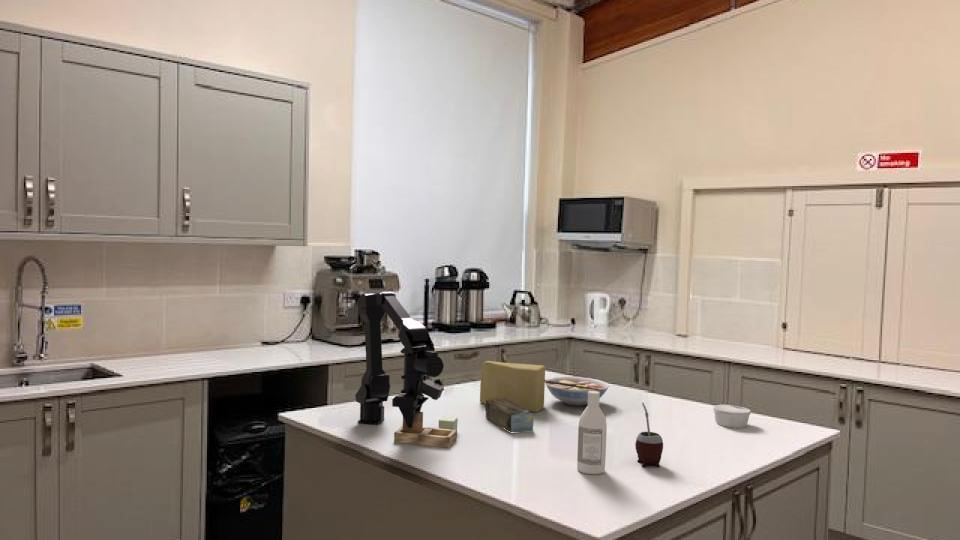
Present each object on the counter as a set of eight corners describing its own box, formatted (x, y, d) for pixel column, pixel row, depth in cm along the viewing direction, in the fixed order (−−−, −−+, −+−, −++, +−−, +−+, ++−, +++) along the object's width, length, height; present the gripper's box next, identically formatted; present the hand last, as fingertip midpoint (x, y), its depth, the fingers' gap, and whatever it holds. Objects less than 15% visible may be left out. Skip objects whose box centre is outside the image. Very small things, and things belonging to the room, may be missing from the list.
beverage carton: (510, 434, 206) (510, 412, 205) (484, 418, 223) (484, 398, 223) (533, 432, 209) (534, 410, 208) (506, 416, 226) (507, 396, 226)
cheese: (475, 405, 239) (476, 362, 238) (485, 400, 248) (486, 358, 247) (536, 413, 231) (538, 368, 230) (544, 407, 240) (546, 364, 239)
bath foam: (586, 464, 179) (589, 387, 179) (609, 470, 175) (613, 392, 174) (571, 470, 174) (574, 391, 173) (595, 477, 170) (598, 396, 169)
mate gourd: (654, 470, 176) (657, 412, 175) (626, 463, 181) (629, 406, 180) (667, 464, 181) (670, 407, 181) (640, 457, 187) (642, 402, 186)
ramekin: (755, 425, 224) (756, 409, 224) (741, 431, 216) (742, 414, 216) (721, 418, 232) (722, 402, 232) (707, 424, 224) (707, 407, 223)
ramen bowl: (621, 403, 249) (622, 380, 249) (595, 415, 230) (596, 391, 229) (558, 392, 262) (559, 371, 262) (529, 404, 243) (530, 381, 243)
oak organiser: (394, 442, 194) (394, 432, 193) (403, 434, 201) (403, 425, 201) (449, 447, 190) (449, 437, 190) (456, 439, 198) (456, 430, 198)
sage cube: (438, 435, 202) (438, 420, 202) (442, 431, 206) (443, 416, 206) (453, 436, 201) (453, 421, 201) (457, 432, 205) (457, 417, 205)
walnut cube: (402, 430, 195) (402, 414, 195) (407, 426, 199) (408, 410, 199) (417, 431, 194) (418, 415, 194) (422, 427, 198) (423, 412, 198)
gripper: (431, 379, 185) (430, 437, 186) (450, 367, 203) (448, 419, 204) (392, 376, 187) (390, 433, 188) (414, 364, 206) (412, 416, 206)
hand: (412, 425), depth 196 cm, fingers closed on walnut cube, 4 cm apart
